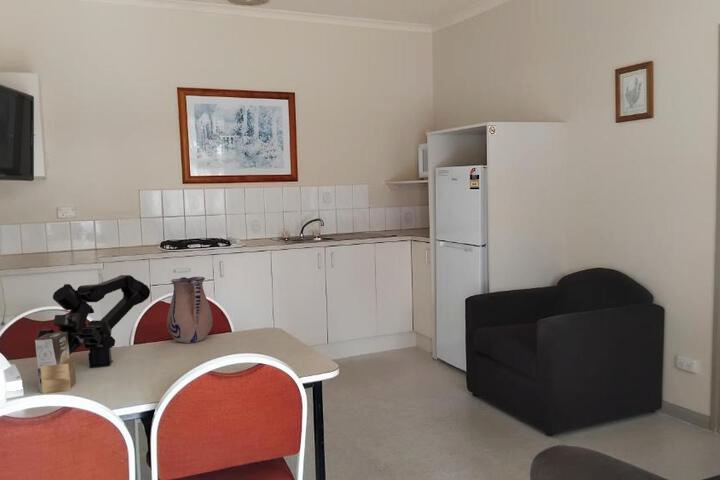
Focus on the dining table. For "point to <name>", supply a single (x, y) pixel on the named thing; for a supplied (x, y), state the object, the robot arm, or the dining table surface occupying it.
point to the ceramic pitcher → (189, 311)
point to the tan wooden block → (58, 377)
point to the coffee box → (51, 351)
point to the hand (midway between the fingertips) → (61, 360)
